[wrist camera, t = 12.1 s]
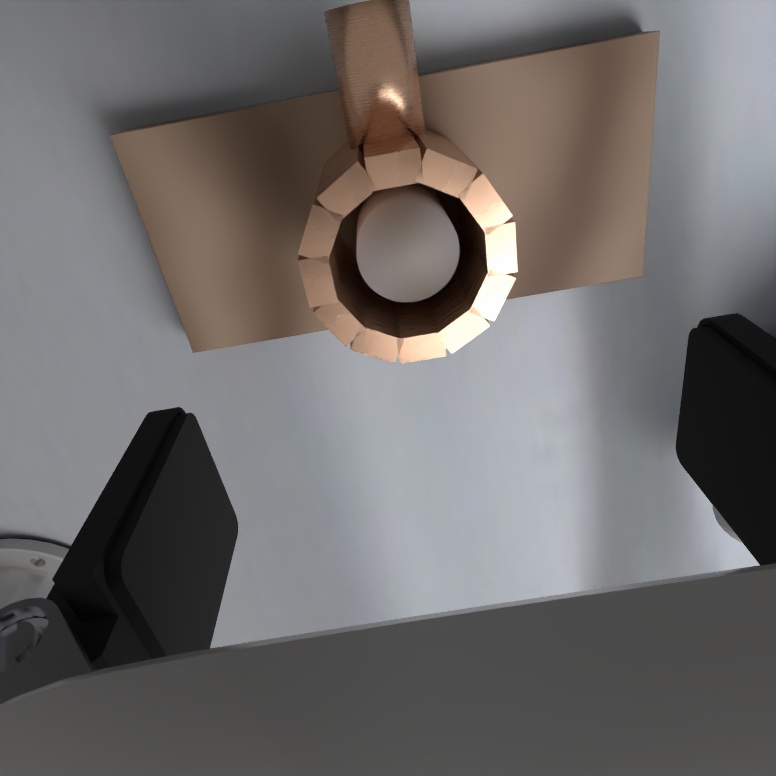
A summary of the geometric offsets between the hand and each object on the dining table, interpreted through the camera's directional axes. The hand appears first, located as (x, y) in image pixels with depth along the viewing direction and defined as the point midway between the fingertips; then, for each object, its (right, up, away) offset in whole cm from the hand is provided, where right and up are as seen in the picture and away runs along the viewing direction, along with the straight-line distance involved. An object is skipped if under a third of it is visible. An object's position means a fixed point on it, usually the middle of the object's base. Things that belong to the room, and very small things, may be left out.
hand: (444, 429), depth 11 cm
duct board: (-1, +9, +15) cm, 18 cm away
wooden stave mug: (-1, +10, +13) cm, 17 cm away
